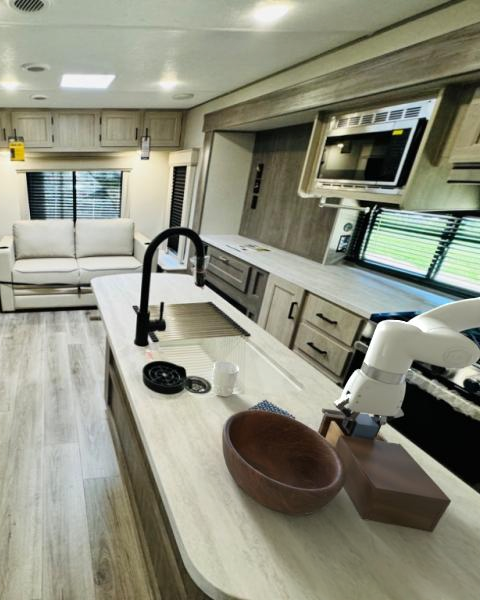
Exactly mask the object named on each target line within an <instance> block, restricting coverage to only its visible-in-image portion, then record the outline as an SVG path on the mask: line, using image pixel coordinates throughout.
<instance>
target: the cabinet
mask: <svg viewBox="0 0 480 600" xmlns="http://www.w3.org/2000/svg"><path fill="white" fill-rule="evenodd" d="M335 449H336V450H337V452H338V453H339V454H340V456H341V458H342V460H343V462H344V464H345V468H346V480H345V483H344V485H343V487H342V489H344V491H345V493H346V495H347V496H348V498H349V500H350V501H351V503H352V505H353V506H354V509H355V510H356V511H357V513H358V515H359V517H360V518H361V519H362V520H365V521H372V522H375V523H381V524H386V525H391V526H397V527H402V528H407V529H411V530H417V531H422V532H427V533H433V532H434V531H435V529H436V527H437V526H438V523H439V522H440V520H441V519H442V517H443V515H444V514H445V512H446V511H447V510H448V508H449V506H450V504H451V502H452V500H451V499H450V497H449V496H448V495H447V494H446V493H445V492H444V491H443V490H442V489H441V488H440V486H439V485H438V484H437V483H436V482H435V481H434V480H433V478H432V477H431V476H430V475H429V474H428V473H427V472H426V471H425V470H424V469H423V468H422V466H421V465H420V464H419V463H418V462H417V461H416V460H415V458H414V457H413V456H412V455H411V454H410V453H409V452H408V451H407V450H406V448H405V447H404V446H403V445H402V444H401V443H397V442H391V441H388V442H385V441H378V440H371V439H364V438H357V437H350V436H343V435H339V438H338V440H337V443H336V446H335Z"/></svg>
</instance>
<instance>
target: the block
mask: <svg viewBox="0 0 480 600" xmlns="http://www.w3.org/2000/svg"><path fill="white" fill-rule="evenodd" d="M352 412H353V411H352ZM352 412H351V413H352ZM355 421H356V425H355V427H354V430H353V432H352V434H351V436H352V437H357V438H364V439H371V440H374V438H375V435H376V433H377V431H378V428H379V426H378V425H377V424H376V423H375V421H374V420H373V419H372V418H371V416H370V414H368V413H360V414H359V415H358V416H357V418H356V419H355Z"/></svg>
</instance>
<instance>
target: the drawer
mask: <svg viewBox="0 0 480 600" xmlns="http://www.w3.org/2000/svg"><path fill="white" fill-rule="evenodd" d="M321 413H322V414H323V416H322V419H321V422H320V425H319V428H318V431H317V432H318V433H319V434H320V435H322V436H323V437H324V438H325V439H326V440H327V441H328V442H330V443H331V445H332V446H333V447H334V448H335V446H336V443H337V440H338V438H339V435H343V436H350V437H352V436H351V434H348V432H347V431H346V430H345V428H344V427H343V425H342V423H343V420H344V417H345V414H344V413H343V412H342V411H340V410H339V409H338V410H337V409H331V408H324V407H322V408H321ZM374 440H378V441H385V442H389V441H388V440H387V438H386V437H385V436H384V435H383V434H382V433H381V431H379V432H378V434H377V436H376V437H375V438H374Z"/></svg>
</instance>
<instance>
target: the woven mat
mask: <svg viewBox="0 0 480 600" xmlns="http://www.w3.org/2000/svg"><path fill="white" fill-rule="evenodd" d="M247 410H265V411H271V412H275V413H279V414H282V415H285V416H288V417H291V418H293V419H295V420H296V417H295V416H293V414H292V413H289V412H288V411H287V410H284V409H283V408H281V407H279V406H277V404H273V402H270V401H268V400H267V399H262V401H259V402H258V403H256V404H254V405H252V407H250V408H247Z"/></svg>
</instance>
